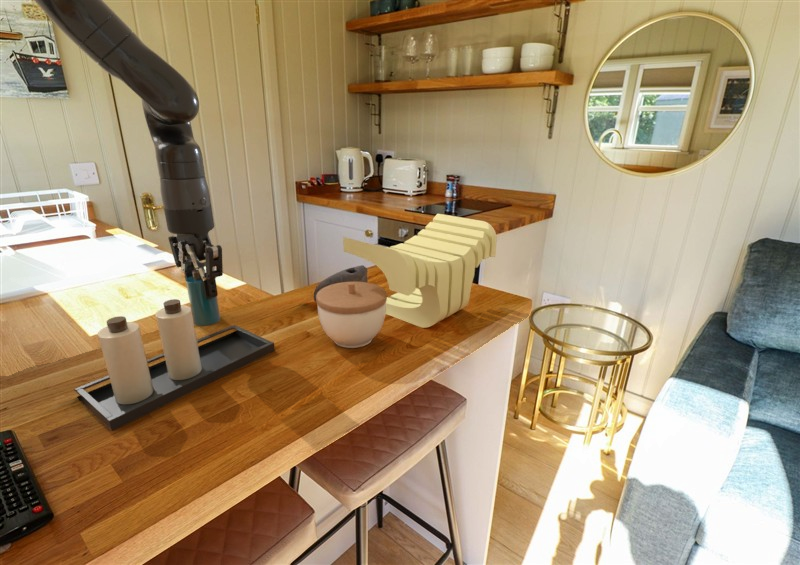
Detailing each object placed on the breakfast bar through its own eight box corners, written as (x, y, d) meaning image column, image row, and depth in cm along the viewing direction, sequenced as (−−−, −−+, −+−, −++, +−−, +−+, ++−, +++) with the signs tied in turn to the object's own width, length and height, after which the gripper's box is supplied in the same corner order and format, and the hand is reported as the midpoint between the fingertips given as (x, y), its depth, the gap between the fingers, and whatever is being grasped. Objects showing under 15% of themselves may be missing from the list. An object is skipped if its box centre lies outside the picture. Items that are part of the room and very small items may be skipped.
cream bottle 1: (109, 396, 61) (88, 321, 56) (144, 381, 64) (127, 309, 60) (124, 409, 58) (103, 331, 54) (160, 392, 62) (143, 318, 57)
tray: (77, 401, 61) (74, 388, 60) (235, 334, 80) (234, 324, 79) (112, 434, 54) (109, 421, 53) (275, 353, 74) (274, 342, 73)
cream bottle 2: (162, 373, 66) (147, 303, 62) (191, 360, 70) (179, 293, 66) (178, 384, 64) (163, 311, 59) (208, 370, 67) (195, 300, 63)
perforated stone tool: (321, 313, 89) (319, 282, 87) (307, 306, 93) (305, 276, 90) (375, 295, 99) (375, 267, 96) (361, 289, 102) (360, 262, 100)
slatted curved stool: (407, 349, 75) (409, 253, 69) (346, 323, 85) (343, 236, 79) (491, 300, 97) (498, 223, 90) (434, 283, 106) (437, 213, 100)
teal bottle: (190, 330, 81) (179, 271, 77) (213, 321, 85) (203, 264, 81) (203, 337, 79) (193, 276, 75) (226, 327, 82) (218, 269, 78)
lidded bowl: (392, 352, 74) (392, 294, 70) (319, 359, 72) (315, 299, 68) (381, 321, 86) (380, 270, 82) (318, 326, 83) (314, 273, 80)
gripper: (145, 202, 75) (163, 291, 80) (188, 212, 67) (205, 310, 73) (186, 196, 80) (200, 280, 86) (230, 205, 72) (243, 296, 78)
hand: (202, 293), depth 79 cm, fingers open, 5 cm apart
